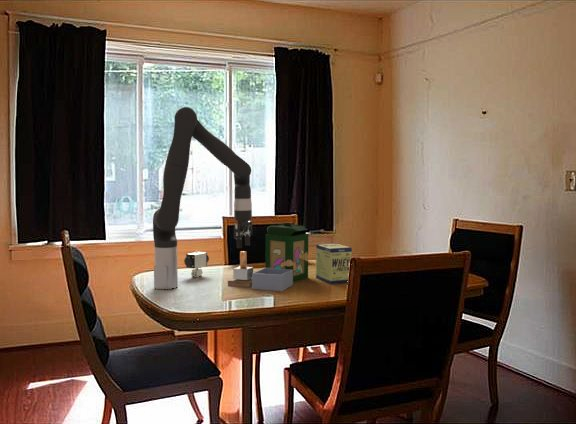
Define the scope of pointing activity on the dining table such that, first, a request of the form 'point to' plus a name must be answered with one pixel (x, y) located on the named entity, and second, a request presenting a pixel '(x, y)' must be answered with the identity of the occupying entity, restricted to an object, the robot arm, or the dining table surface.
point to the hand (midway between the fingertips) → (243, 246)
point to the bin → (272, 279)
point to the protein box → (333, 262)
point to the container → (287, 249)
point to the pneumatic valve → (196, 262)
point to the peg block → (243, 268)
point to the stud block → (240, 282)
